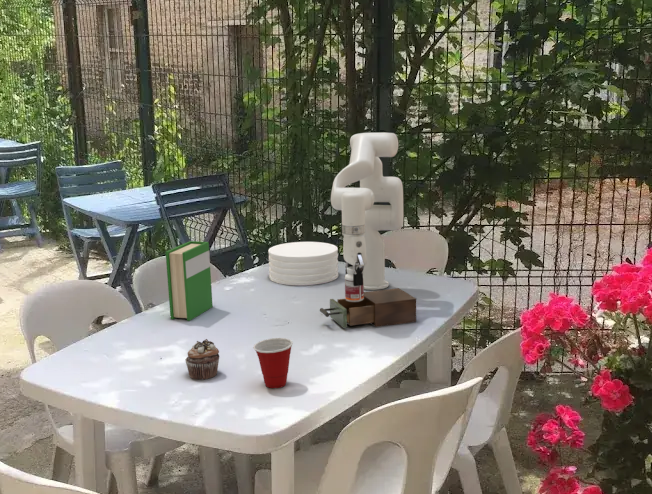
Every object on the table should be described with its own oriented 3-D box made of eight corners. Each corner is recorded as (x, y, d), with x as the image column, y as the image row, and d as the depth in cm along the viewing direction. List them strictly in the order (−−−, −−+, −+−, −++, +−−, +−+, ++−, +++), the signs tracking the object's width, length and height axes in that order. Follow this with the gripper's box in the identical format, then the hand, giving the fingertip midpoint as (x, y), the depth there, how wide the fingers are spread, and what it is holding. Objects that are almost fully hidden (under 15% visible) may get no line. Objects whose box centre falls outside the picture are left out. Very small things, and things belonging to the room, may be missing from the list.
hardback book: (189, 320, 295) (184, 252, 288) (170, 319, 297) (165, 251, 291) (212, 306, 311) (208, 242, 304) (194, 305, 313) (190, 241, 307)
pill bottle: (355, 296, 289) (354, 264, 287) (367, 299, 285) (367, 267, 282) (341, 300, 286) (340, 267, 283) (353, 303, 281) (353, 271, 278)
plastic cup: (254, 378, 240) (252, 337, 237) (292, 376, 241) (291, 335, 238) (255, 393, 230) (253, 350, 227) (295, 390, 231) (294, 348, 227)
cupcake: (206, 366, 251) (203, 333, 248) (227, 374, 244) (225, 340, 242) (179, 375, 245) (177, 341, 242) (200, 383, 238) (198, 349, 235)
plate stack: (258, 282, 342) (256, 254, 339) (285, 266, 367) (284, 240, 364) (323, 287, 331) (323, 258, 328) (347, 270, 356) (347, 243, 353)
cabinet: (375, 327, 282) (375, 303, 280) (359, 315, 295) (359, 292, 293) (416, 322, 286) (416, 298, 284) (398, 310, 299) (398, 288, 297)
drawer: (329, 329, 278) (328, 311, 276) (316, 318, 290) (315, 300, 288) (381, 323, 283) (381, 304, 281) (367, 312, 295) (366, 294, 294)
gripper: (374, 233, 272) (374, 288, 277) (354, 224, 288) (355, 275, 293) (352, 235, 270) (352, 290, 275) (333, 226, 286) (334, 278, 291)
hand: (354, 282), depth 284 cm, fingers closed on pill bottle, 6 cm apart
